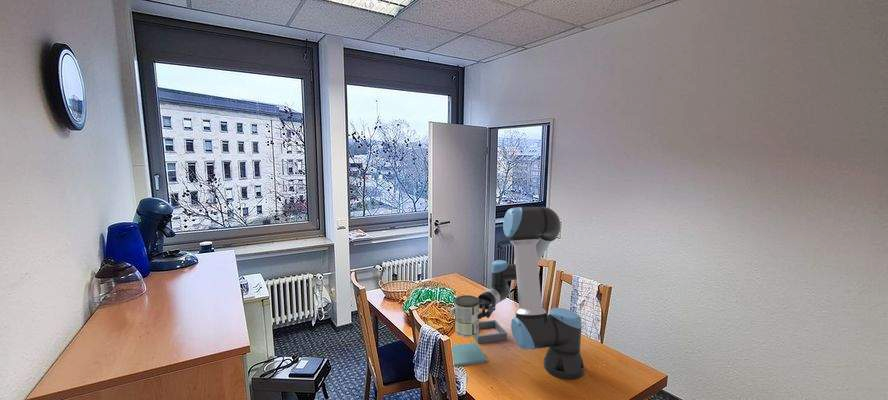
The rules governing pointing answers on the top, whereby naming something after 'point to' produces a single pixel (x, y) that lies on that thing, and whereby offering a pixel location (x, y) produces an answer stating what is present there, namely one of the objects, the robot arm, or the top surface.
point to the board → (467, 354)
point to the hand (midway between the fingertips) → (461, 315)
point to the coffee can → (466, 316)
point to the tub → (491, 337)
